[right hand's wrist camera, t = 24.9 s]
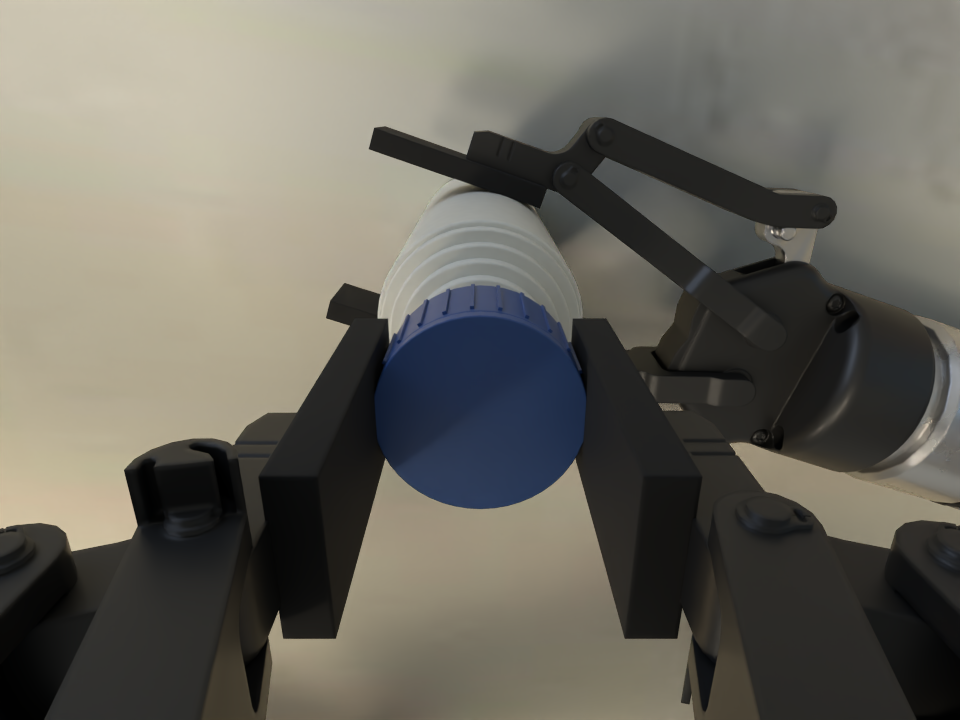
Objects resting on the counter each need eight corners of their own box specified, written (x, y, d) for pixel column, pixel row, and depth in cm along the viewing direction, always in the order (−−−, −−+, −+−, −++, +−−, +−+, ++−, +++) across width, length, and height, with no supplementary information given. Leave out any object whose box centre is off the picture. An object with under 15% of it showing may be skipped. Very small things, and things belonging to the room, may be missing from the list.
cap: (567, 269, 13) (583, 298, 11) (582, 445, 15) (598, 499, 13) (368, 296, 14) (348, 328, 12) (404, 466, 15) (392, 522, 13)
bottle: (478, 145, 30) (477, 197, 11) (563, 232, 31) (681, 400, 13) (396, 234, 31) (280, 405, 13) (481, 312, 33) (482, 563, 14)
